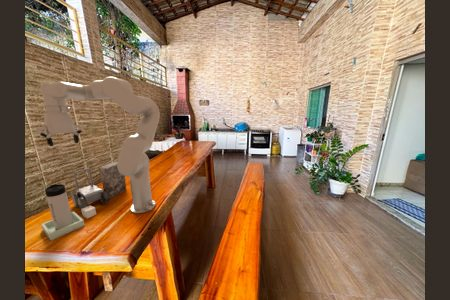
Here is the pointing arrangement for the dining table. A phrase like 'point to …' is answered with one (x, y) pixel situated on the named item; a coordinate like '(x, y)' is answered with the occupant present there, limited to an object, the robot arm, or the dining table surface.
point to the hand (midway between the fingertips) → (64, 144)
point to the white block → (88, 211)
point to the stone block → (112, 179)
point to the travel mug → (59, 206)
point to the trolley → (88, 193)
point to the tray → (53, 234)
